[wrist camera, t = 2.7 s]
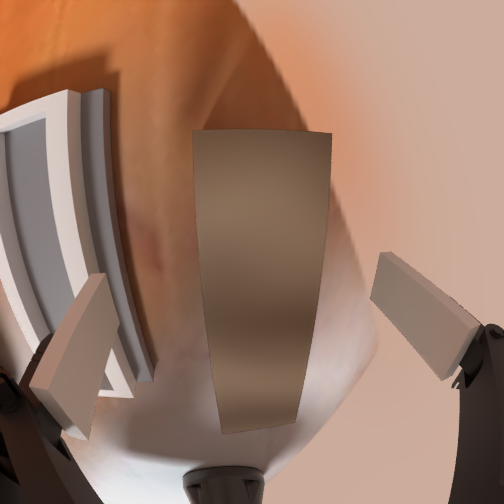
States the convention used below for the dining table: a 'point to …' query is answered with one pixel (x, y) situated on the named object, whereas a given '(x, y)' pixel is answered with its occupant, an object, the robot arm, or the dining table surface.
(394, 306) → the robot arm
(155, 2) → the dining table surface
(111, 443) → the dining table surface
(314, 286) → the beige textured block
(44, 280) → the track base
